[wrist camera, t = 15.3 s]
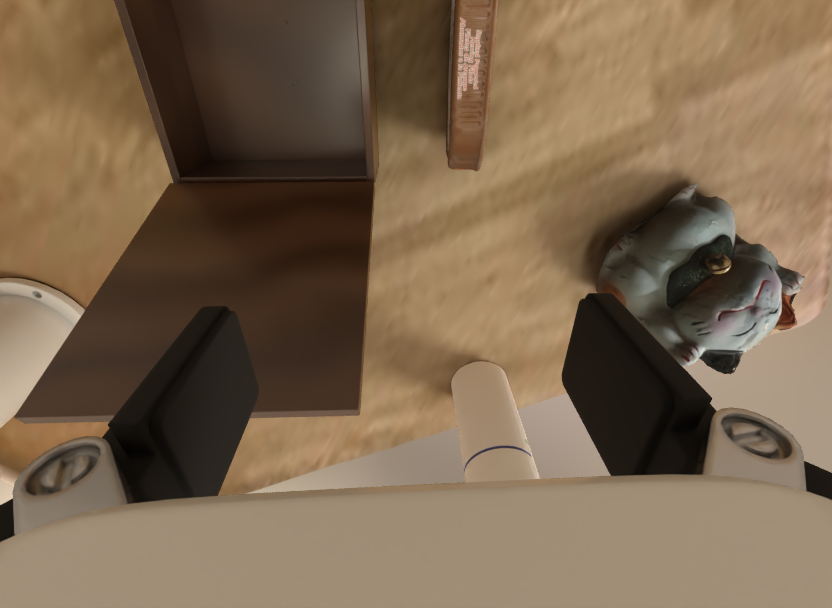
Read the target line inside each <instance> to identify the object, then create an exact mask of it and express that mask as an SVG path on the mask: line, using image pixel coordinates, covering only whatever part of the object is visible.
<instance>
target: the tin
mask: <svg viewBox="0 0 832 608" xmlns="http://www.w3.org/2000/svg"><path fill="white" fill-rule="evenodd" d="M498 4H499V0H451V18H450V37H449V57H448V84H447V125H446V152H447V157H448V166H449V167H450V168H451V169H471V170H475V171H478V170H479V169H480V167H481V164H482V159H483V154H484V148H485V141H486V133H487V123H488V112H489V102H490V91H491V80H492V69H493V58H494V47H495V35H496V25H497V14H498Z"/></svg>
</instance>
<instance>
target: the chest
mask: <svg viewBox="0 0 832 608" xmlns="http://www.w3.org/2000/svg"><path fill="white" fill-rule="evenodd" d="M114 1H115V4H116V7H117V10H118V13H119V16H120V19H121V23H122V26H123V29H124V32H125V35H126V38H127V41H128V44H129V47H130V50H131V53H132V56H133V59H134V62H135V65H136V68H137V72H138V75H139V78H140V81H141V84H142V87H143V90H144V93H145V96H146V99H147V102H148V105H149V108H150V111H151V114H152V118H153V121H154V124H155V127H156V130H157V133H158V136H159V139H160V142H161V145H162V148H163V151H164V154H165V157H166V160H167V164H168V167H169V170H170V173H171V176H172V179H173V182H174V183H263V182H372V181H374V182H375V181H376V177H377V172H378V168H379V147H378V127H377V107H376V86H375V66H374V46H373V26H372V5H371V0H114Z"/></svg>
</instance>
